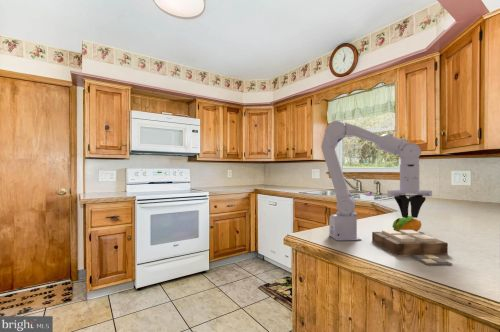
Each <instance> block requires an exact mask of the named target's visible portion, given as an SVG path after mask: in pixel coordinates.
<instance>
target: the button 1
mask: <svg viewBox="0 0 500 332" xmlns="http://www.w3.org/2000/svg"><path fill="white" fill-rule="evenodd" d="M381 232H382V234H384V235H386V236H388V237H393V235H402V233H400V232H397V231H395V230H394V229H382V230H381Z"/></svg>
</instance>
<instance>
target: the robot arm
mask: <svg viewBox="0 0 500 332" xmlns="http://www.w3.org/2000/svg"><path fill="white" fill-rule="evenodd" d="M345 137H346V138H352V137H356V138H359V139H362V140H364V141H368V142H370V143H373V144H376V147H377V148H378V149H379V150H381V151H384V152H386V153H389V154H390V155H391V154H392V155H394V156H397V155H398V156H399V158H400V164H399V189H396V190H394V189H393V190H389V189H388V190H387V197H391V198H392V197H394V201H396V203H397V205H398V208H399V211H400V214H401V218H403V217H404V218H408V216H409V206H410V216H412V217H415V218H414V219H416V218H418V217H419V213H420V211H421V208H422V206H423V204H424V202H425V201H427V200H426V198H427V197H433V190H427V189H424V190H421V189H420V158H419V157H421V154H422V150H421V147H420V146H419V145H418V144H417V143H414V142H408V139H401V138H399V137H396V136H394V134H393V133H389V134H388V133H385V134H382V135H380V134H377V133H375V132H372V131H370V130H368V129H365V128H363V127H361V126H358V125H356V124H355V125H354V124H352V123H349V122H343V121H341V120H338V119H337V120H333V121H331V122H330V123H329V124H328V125H327V127H326V128H325V129H324V135H323V139H322V141H321V145H320V147H321V152H322V155H323V157H324V160H325V163H326V166H327V169H328V173H329V176H330V180H331V183H332V185H333V188H334V193H335V198H336V210H337V211H336V213H334V214H331V215H330V216H329V221H328V222H329V224H328V225H329V231H328V232H329V233H328V235H329V236H330V237H331V238H333V240H335V241H362V238H361V237H359V236H358V234H357V233H358V230H357V229H358V226H357V225H358V214H357V212H356V211H355V209H356V204H357V202H356V200H355V198H354V197H353V196H352V195H351V191H350V190H349V187H348V185H347V181H346V178H345V175H344V172H343V169H342V166H341V164H340V160H339V158H338V155H337V152H336V148H337V146H338V144H339V143H340V141H342V140H343V139H344V138H345Z"/></svg>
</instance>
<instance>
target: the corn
mask: <svg viewBox="0 0 500 332" xmlns="http://www.w3.org/2000/svg"><path fill="white" fill-rule="evenodd" d="M391 227H392V228H393V230H395V231H397V232H399V230H413V231H416V232H419V233H421V232H420V230H421V228H422V222H421V220H419V219H416V218H415V217H412V216H411V215H408V218H404V217H399V218H396V219H395V220H394V221H393V223H392V226H391Z"/></svg>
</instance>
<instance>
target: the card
mask: <svg viewBox="0 0 500 332" xmlns="http://www.w3.org/2000/svg"><path fill="white" fill-rule="evenodd" d="M409 256H410V257H411V258H412V259H414V260H416V261H418V262H419V263H422V264H424V265H426V266H428V267H429V266H453V263H452V262H450V261H447V260H445V259H443V258H441V257H440V256H438V255H409Z"/></svg>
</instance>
